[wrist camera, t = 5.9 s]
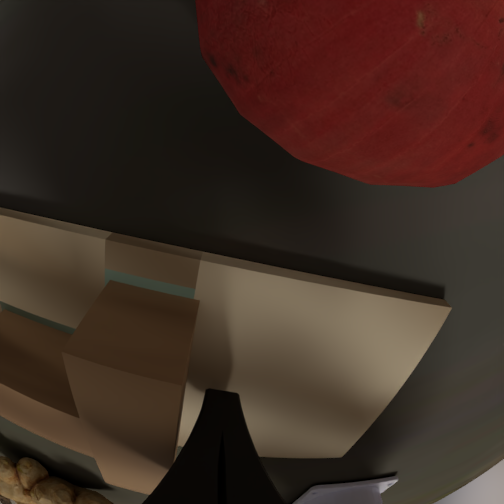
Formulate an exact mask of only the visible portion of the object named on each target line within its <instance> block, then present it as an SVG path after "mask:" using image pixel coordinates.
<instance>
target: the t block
mask: <svg viewBox="0 0 504 504" xmlns="http://www.w3.org/2000/svg"><path fill="white" fill-rule="evenodd" d="M199 303H200V300H196V299H191V298H186V297H182V296H177V295H172V294H168V293H163V292H159V291H155V290H150V289H146V288H142V287H137V286H133V285H129V284H125V283H121V282H117V281H113V280H110V281H109V282H108V283H107V285H106V286H105V287H104V289H103V290H102V292H101V293H100V294H99V296H98V297H97V299H96V300H95V302H94V303H93V304H92V306H91V307H90V309H89V310H88V312H87V313H86V315H85V316H84V318H83V319H82V321H81V322H80V324H79V325H78V327H77V328H76V330H75V331H74V333H73V334H69V333H66V332H63V331H60V330H57V329H54V328H52V327H49V326H46V325H43V324H41V323H38V322H35V321H33V320H30V319H28V318H25V317H23V316H20V315H18V314H15V313H13V312H10V311H8V310H6V309H4V310H3V311H2V312H1V313H0V416H2V417H4V418H6V419H8V420H9V421H11V422H13V423H15V424H17V425H19V426H21V427H23V428H25V429H27V430H29V431H31V432H33V433H35V434H37V435H39V436H41V437H43V438H46V439H48V440H50V441H52V442H55V443H57V444H60V445H62V446H64V447H67V448H69V449H72V450H75V451H77V452H80V453H83V454H85V455H88V456H91V457H94V458H95V460H96V462H97V465H98V467H99V469H100V471H101V474H102V476H103V478H104V480H105V482H106V483H108V484H112V485H115V486H118V487H122V488H125V489H129V490H133V491H137V492H141V493H145V494H149V495H150V494H151V493H152V492H153V491H154V489H155V488H156V487H157V485H158V484H159V483H160V481H161V480H162V479H163V477H164V476H165V475H166V473H167V472H168V470H169V469H170V468H171V466H172V465H173V463H174V462H175V459H176V453H177V446H178V440H179V432H180V424H181V417H182V410H183V402H184V395H185V389H186V382H187V375H188V369H189V362H190V356H191V350H192V343H193V337H194V331H195V326H196V320H197V314H198V308H199Z"/></svg>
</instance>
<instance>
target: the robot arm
mask: <svg viewBox="0 0 504 504" xmlns="http://www.w3.org/2000/svg"><path fill="white" fill-rule="evenodd" d="M398 480H399V479H398V476H393V477H387V478H381V479H374V480H367V481H359V482H350V483H340V484H327V485H316V486H313V487H311V488H310V489H309V490H308V491H307V492H305V493H304V494H303V495H302V496H301V497H300V498H298V499H297V500H296V501H295V502H294V503H292V504H383V502H382V499H381V495H380V494H381V493H382V492H383V491H385V490H386V489H388V488H389V487H390V486H392V485H393V484H394V483H396V482H397V481H398ZM142 504H286V502H285V501H284V500H283V498H282V497H281V495H280V494H279V492H278V491H277V489H276V488H275V486H274V484H273V483H272V481H271V479H270V477H269V476H268V474H267V472H266V470H265V468H264V466H263V464H262V462H261V460H260V458H259V456H258V453H257V451H256V449H255V446H254V444H253V441H252V438H251V436H250V433H249V430H248V427H247V424H246V421H245V418H244V414H243V410H242V406H241V401H240V395H239V394H238V393H236V392H229V391H223V390H217V389H211V388H208V389H206V390H205V395H204V399H203V404H202V407H201V410H200V413H199V416H198V418H197V420H196V423H195V425H194V427H193V429H192V431H191V433H190V435H189V437H188V439H187V441H186V443H185V445H184V446H183V448H182V450H181V452H180V453H179V455H178V457H177V458H176V460H175V462H174V463H173V465H172V466H171V468H170V469H169V470H168V472H167V473H166V475H165V476H164V477H163V479H162V480H161V481H160V483H159V484H158V485H157V487H156V488H155V489H154V491H153V492H152V493H151V494H150V495H149V496H148V498H147V499H146V500H145V501H144V502H143V503H142Z"/></svg>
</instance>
